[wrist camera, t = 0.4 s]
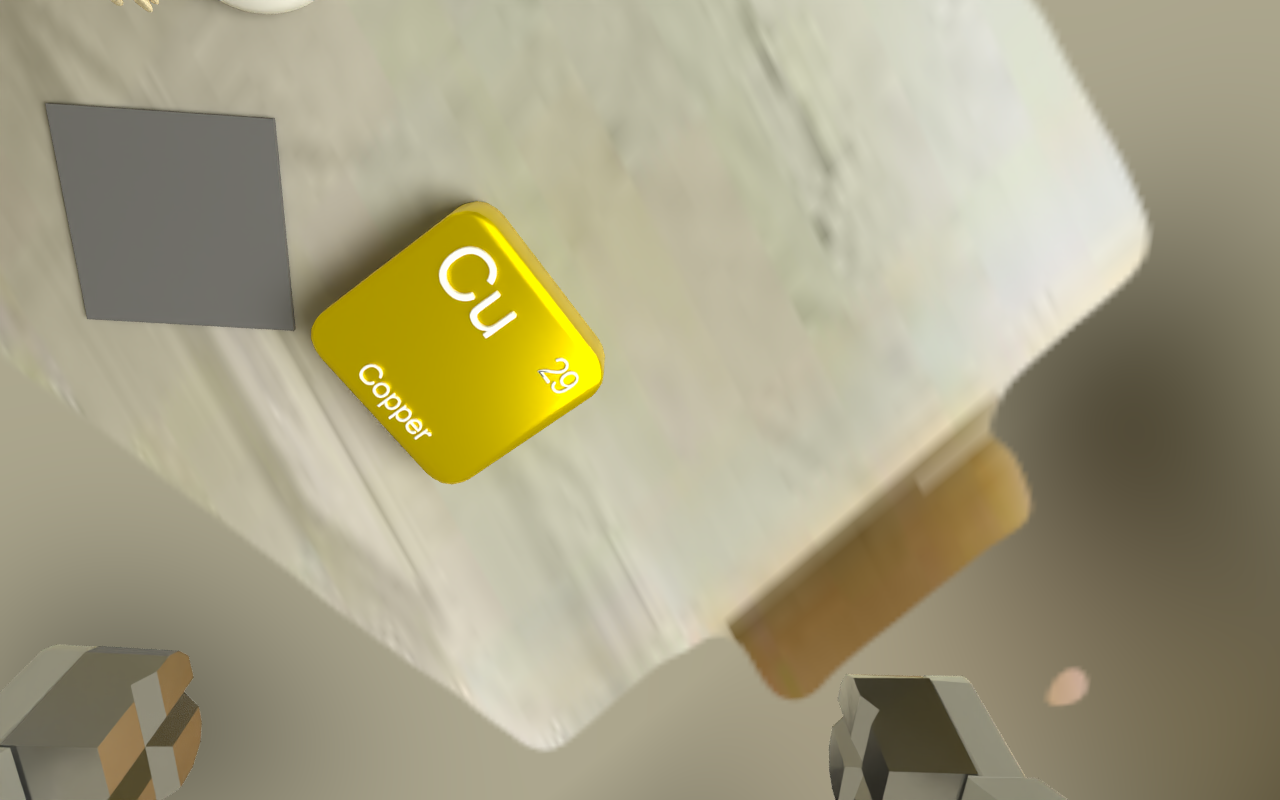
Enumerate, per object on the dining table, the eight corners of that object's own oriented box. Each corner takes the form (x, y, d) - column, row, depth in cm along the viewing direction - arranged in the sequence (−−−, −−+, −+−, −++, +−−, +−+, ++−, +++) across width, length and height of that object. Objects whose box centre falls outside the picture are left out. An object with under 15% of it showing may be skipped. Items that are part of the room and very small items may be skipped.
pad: (48, 103, 51) (44, 103, 50) (274, 118, 51) (273, 118, 51) (89, 317, 56) (87, 319, 56) (295, 329, 57) (293, 330, 56)
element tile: (318, 314, 57) (292, 335, 52) (484, 187, 54) (471, 197, 49) (456, 469, 62) (444, 499, 57) (616, 360, 58) (616, 384, 54)
